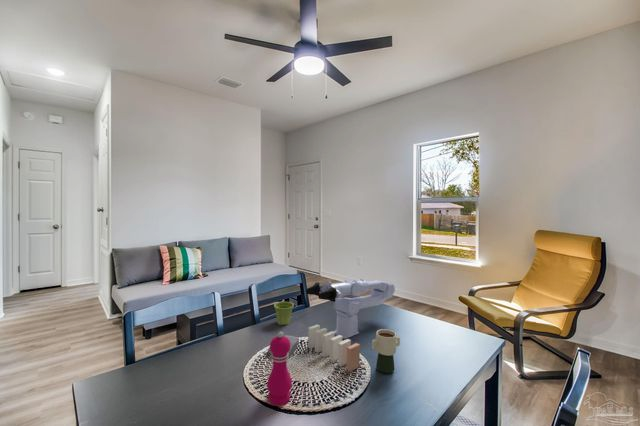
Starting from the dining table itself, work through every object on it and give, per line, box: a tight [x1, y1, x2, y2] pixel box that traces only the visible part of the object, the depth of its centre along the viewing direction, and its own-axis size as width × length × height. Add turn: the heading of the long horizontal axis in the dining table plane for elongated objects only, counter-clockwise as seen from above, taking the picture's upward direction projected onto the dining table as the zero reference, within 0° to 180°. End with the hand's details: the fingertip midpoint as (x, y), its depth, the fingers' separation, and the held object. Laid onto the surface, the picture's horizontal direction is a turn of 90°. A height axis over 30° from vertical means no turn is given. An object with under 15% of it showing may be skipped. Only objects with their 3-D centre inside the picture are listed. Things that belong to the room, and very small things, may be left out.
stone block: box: [268, 335, 300, 358], centre depth 117 cm, size 12×5×10 cm
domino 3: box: [321, 331, 336, 358], centre depth 114 cm, size 5×2×8 cm, turn 132°
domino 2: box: [314, 327, 328, 354], centre depth 117 cm, size 5×2×8 cm, turn 132°
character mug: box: [371, 328, 401, 374], centre depth 104 cm, size 11×7×13 cm, turn 107°
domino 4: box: [329, 335, 344, 363], centre depth 111 cm, size 5×2×8 cm, turn 132°
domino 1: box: [307, 324, 321, 350], centre depth 120 cm, size 5×2×8 cm, turn 132°
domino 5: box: [337, 338, 352, 367], centre depth 108 cm, size 5×2×8 cm, turn 132°
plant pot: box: [273, 301, 295, 326], centre depth 143 cm, size 9×9×9 cm
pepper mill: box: [266, 331, 293, 406], centre depth 87 cm, size 7×7×20 cm
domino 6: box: [345, 342, 361, 372], centre depth 104 cm, size 5×2×8 cm, turn 132°
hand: (312, 293), depth 119 cm, fingers open, 7 cm apart
